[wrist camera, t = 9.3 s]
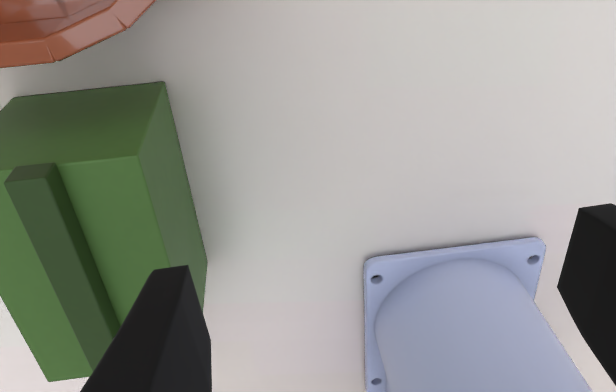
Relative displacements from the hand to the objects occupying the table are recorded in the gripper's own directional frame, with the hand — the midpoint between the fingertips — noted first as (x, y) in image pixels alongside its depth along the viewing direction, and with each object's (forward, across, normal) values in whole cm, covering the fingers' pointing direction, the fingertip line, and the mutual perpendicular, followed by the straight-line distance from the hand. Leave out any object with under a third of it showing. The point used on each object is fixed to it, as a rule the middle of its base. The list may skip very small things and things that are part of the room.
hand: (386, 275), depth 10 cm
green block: (+10, +8, +4) cm, 13 cm away
